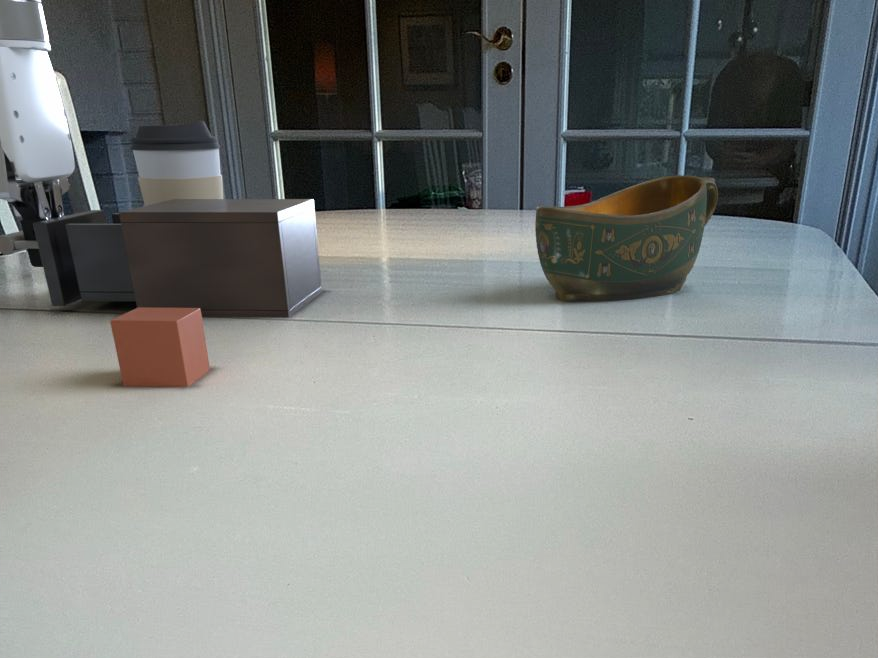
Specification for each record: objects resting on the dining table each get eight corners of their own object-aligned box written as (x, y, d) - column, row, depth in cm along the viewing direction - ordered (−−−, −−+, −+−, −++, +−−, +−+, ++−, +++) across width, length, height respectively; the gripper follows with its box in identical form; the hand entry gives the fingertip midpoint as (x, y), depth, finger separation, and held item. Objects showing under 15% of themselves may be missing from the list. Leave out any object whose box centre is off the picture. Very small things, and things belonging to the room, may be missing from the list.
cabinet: (138, 318, 80) (118, 211, 75) (189, 293, 90) (174, 199, 86) (289, 320, 79) (277, 212, 74) (322, 294, 89) (313, 199, 85)
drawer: (-6, 305, 81) (-29, 222, 77) (55, 284, 90) (38, 209, 87) (187, 307, 79) (173, 223, 76) (229, 285, 89) (218, 210, 86)
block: (123, 389, 59) (109, 320, 57) (150, 372, 63) (137, 307, 61) (188, 390, 59) (176, 321, 57) (211, 373, 63) (200, 307, 61)
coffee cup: (137, 281, 97) (107, 121, 89) (180, 269, 105) (155, 120, 97) (213, 284, 95) (189, 121, 87) (251, 271, 103) (232, 119, 95)
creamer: (749, 302, 84) (766, 182, 79) (539, 309, 82) (543, 185, 77) (701, 280, 95) (713, 173, 90) (516, 285, 93) (517, 176, 88)
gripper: (3, 36, 81) (52, 254, 91) (-102, 22, 68) (-33, 278, 78) (83, 35, 81) (124, 255, 90) (-8, 21, 68) (50, 279, 77)
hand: (51, 265), depth 84 cm, fingers closed
